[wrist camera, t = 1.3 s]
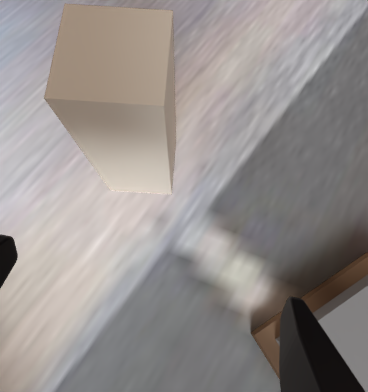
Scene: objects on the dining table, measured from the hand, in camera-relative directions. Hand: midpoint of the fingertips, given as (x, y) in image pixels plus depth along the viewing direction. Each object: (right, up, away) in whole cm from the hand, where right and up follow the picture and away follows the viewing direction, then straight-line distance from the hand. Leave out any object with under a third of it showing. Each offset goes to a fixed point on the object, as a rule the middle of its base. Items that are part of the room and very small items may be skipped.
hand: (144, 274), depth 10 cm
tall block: (-2, +5, +16) cm, 17 cm away
